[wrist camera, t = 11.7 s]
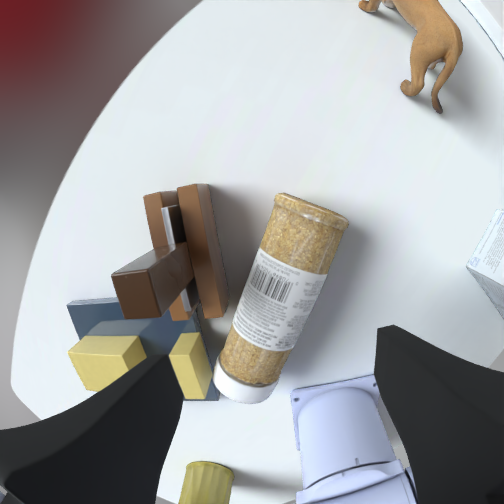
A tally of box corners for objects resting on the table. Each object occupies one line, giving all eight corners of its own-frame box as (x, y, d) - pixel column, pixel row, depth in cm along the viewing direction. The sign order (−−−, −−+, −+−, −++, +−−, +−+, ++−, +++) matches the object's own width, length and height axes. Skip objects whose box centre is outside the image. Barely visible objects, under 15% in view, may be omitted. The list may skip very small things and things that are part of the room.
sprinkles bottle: (284, 192, 18) (224, 356, 21) (268, 187, 13) (200, 386, 17) (349, 218, 17) (276, 380, 20) (355, 220, 12) (261, 416, 16)
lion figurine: (319, -22, 13) (335, -92, 4) (369, -26, 12) (398, -84, 3) (413, 121, 15) (495, 92, 7) (458, 108, 14) (533, 86, 6)
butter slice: (212, 374, 20) (205, 399, 17) (194, 374, 20) (185, 399, 17) (200, 331, 19) (189, 354, 16) (181, 333, 19) (168, 355, 16)
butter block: (154, 375, 20) (141, 397, 17) (101, 371, 21) (86, 390, 18) (138, 335, 19) (122, 355, 16) (85, 335, 20) (66, 352, 17)
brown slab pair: (230, 298, 19) (223, 317, 16) (185, 302, 19) (172, 321, 17) (208, 183, 17) (196, 183, 14) (161, 193, 18) (142, 196, 15)
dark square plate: (220, 393, 21) (218, 400, 20) (110, 388, 23) (106, 394, 22) (190, 289, 19) (187, 294, 18) (72, 300, 20) (66, 304, 19)
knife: (215, 285, 19) (176, 361, 10) (191, 288, 19) (139, 360, 10) (198, 200, 18) (135, 214, 9) (173, 205, 18) (97, 224, 9)
